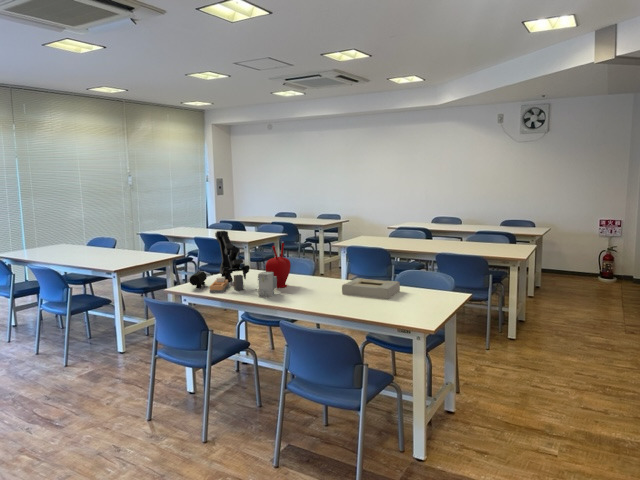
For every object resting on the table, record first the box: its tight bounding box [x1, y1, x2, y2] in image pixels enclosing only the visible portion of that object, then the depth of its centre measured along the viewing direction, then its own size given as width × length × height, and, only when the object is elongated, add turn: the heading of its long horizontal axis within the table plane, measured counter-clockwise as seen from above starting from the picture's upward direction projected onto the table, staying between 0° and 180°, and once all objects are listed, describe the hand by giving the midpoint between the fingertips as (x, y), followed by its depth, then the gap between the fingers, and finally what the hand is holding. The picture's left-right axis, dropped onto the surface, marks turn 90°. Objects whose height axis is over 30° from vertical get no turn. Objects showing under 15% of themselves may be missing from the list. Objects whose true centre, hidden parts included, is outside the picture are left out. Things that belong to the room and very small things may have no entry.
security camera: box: [189, 270, 208, 289], centre depth 330 cm, size 7×18×10 cm, turn 174°
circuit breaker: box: [257, 271, 278, 298], centre depth 304 cm, size 8×14×15 cm, turn 161°
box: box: [341, 277, 401, 300], centre depth 304 cm, size 23×8×32 cm
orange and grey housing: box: [209, 276, 230, 294], centre depth 323 cm, size 21×9×7 cm, turn 0°
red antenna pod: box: [264, 242, 292, 289], centre depth 326 cm, size 21×13×30 cm, turn 160°
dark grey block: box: [233, 274, 244, 292], centre depth 319 cm, size 5×5×10 cm
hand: (238, 279), depth 318 cm, fingers open, 9 cm apart
